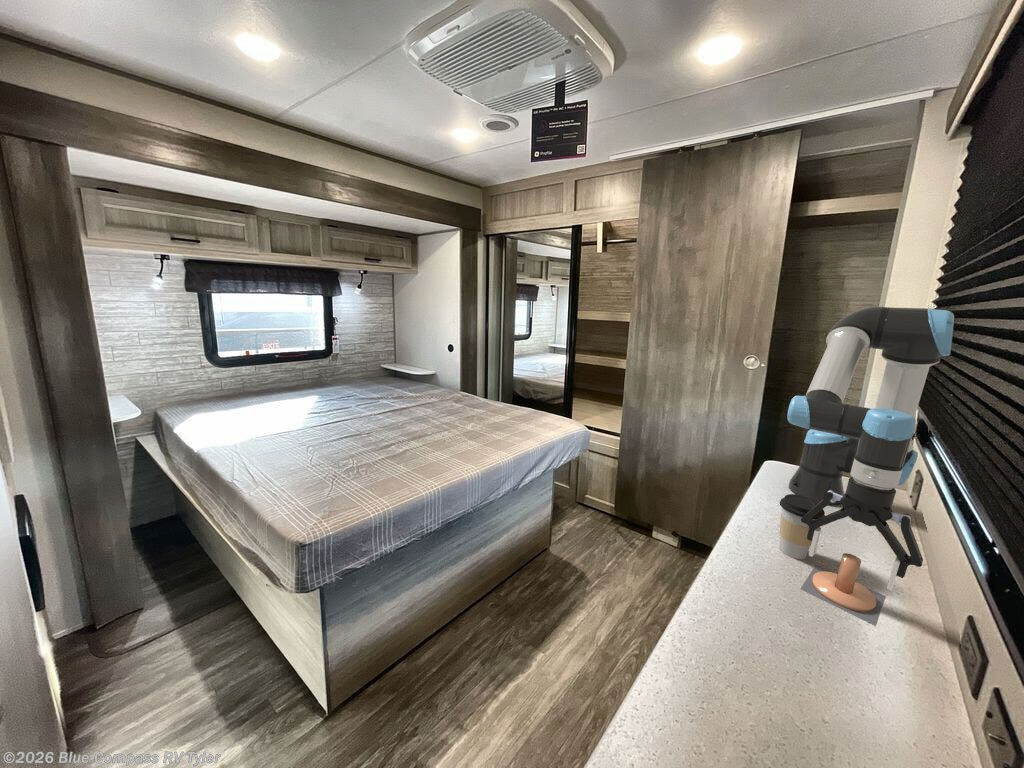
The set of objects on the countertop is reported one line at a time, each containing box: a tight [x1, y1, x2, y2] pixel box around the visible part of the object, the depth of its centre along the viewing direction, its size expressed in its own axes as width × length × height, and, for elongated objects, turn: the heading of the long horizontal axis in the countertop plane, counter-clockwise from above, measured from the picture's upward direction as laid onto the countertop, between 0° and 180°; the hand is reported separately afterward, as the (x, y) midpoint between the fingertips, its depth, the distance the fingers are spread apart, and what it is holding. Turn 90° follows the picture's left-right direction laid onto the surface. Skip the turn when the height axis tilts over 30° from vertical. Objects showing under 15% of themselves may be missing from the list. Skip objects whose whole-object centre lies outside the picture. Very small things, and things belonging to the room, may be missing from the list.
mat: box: [800, 565, 886, 627], centre depth 90 cm, size 13×13×1 cm
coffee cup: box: [778, 493, 826, 560], centre depth 103 cm, size 9×9×15 cm
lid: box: [812, 552, 876, 612], centre depth 89 cm, size 11×11×9 cm
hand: (848, 569), depth 89 cm, fingers open, 13 cm apart
